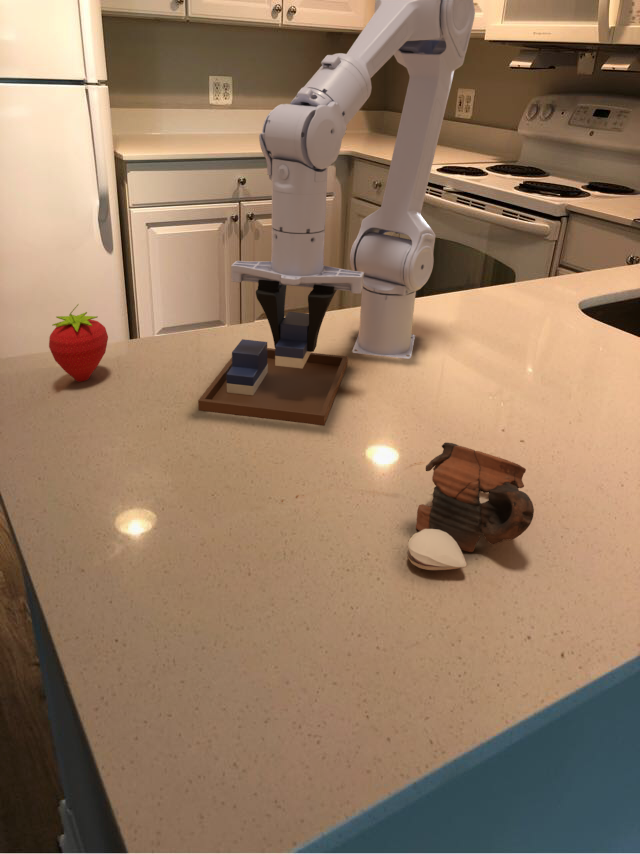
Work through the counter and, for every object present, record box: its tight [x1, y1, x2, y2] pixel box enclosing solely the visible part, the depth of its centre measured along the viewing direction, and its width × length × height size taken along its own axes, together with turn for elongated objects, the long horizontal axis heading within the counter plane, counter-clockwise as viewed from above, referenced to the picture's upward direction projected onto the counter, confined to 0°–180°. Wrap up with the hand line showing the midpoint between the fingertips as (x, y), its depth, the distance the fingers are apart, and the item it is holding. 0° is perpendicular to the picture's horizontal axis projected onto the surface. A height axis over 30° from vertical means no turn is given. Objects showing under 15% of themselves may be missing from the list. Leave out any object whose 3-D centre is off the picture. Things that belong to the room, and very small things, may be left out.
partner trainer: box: [227, 338, 268, 396], centre depth 85 cm, size 7×3×4 cm, turn 170°
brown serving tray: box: [197, 347, 349, 426], centre depth 85 cm, size 17×14×2 cm
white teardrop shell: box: [406, 529, 467, 571], centre depth 57 cm, size 4×5×2 cm
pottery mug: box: [415, 442, 535, 553], centre depth 61 cm, size 12×10×8 cm
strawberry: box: [48, 303, 109, 382], centre depth 83 cm, size 6×8×10 cm
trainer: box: [274, 311, 312, 368], centre depth 82 cm, size 7×3×4 cm, turn 170°
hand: (295, 346), depth 82 cm, fingers closed on trainer, 3 cm apart
